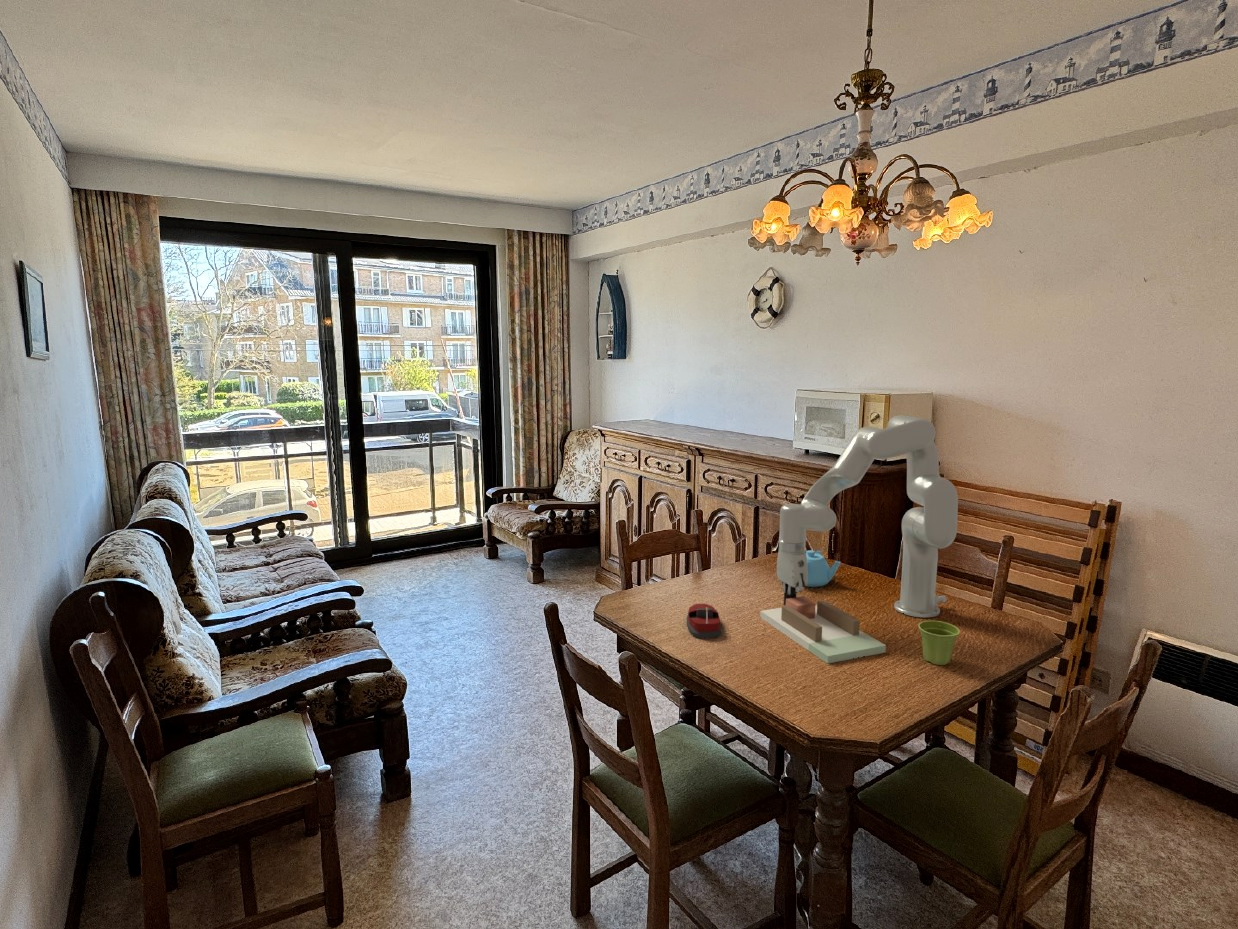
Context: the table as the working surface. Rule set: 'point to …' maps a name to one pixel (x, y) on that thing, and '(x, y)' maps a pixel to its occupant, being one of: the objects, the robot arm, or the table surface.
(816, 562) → the teapot
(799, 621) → the board with rails
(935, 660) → the plant pot
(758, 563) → the table surface
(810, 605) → the block
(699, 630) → the bumper car
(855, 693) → the table surface
